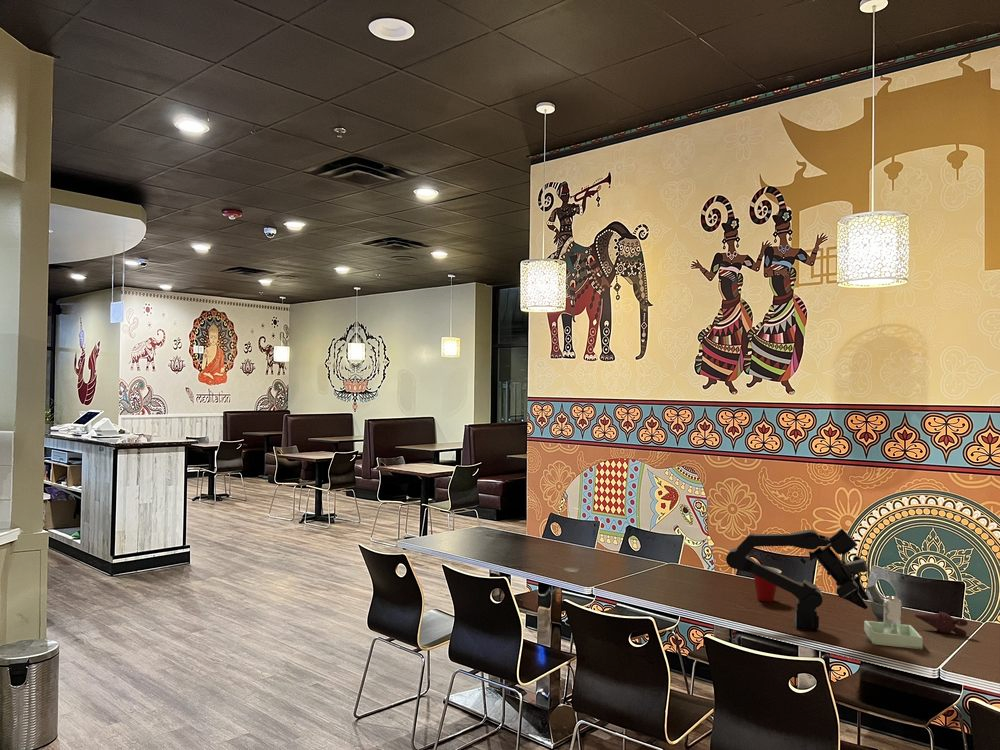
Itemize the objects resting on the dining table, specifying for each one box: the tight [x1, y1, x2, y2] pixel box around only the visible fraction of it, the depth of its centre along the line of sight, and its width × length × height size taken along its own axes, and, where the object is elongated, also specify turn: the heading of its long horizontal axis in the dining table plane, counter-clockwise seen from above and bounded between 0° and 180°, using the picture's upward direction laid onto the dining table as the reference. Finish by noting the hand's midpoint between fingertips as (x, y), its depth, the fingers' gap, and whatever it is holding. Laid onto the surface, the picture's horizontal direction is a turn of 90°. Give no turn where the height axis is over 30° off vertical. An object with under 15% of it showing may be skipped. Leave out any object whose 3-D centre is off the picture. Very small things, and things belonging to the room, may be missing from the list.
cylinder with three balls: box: [883, 595, 902, 635], centre depth 230 cm, size 5×5×13 cm
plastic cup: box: [753, 565, 782, 603], centre depth 275 cm, size 11×11×12 cm
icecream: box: [914, 610, 969, 637], centre depth 240 cm, size 7×7×15 cm
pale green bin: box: [863, 620, 924, 650], centre depth 230 cm, size 14×14×4 cm
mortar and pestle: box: [866, 584, 903, 623], centre depth 250 cm, size 11×9×12 cm
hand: (867, 604), depth 233 cm, fingers open, 9 cm apart
